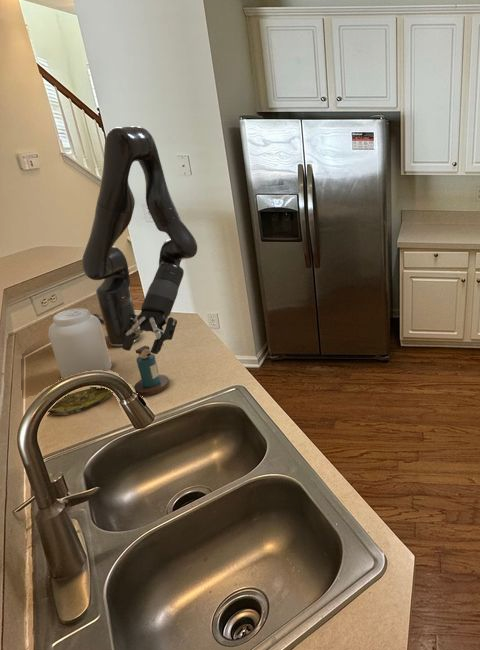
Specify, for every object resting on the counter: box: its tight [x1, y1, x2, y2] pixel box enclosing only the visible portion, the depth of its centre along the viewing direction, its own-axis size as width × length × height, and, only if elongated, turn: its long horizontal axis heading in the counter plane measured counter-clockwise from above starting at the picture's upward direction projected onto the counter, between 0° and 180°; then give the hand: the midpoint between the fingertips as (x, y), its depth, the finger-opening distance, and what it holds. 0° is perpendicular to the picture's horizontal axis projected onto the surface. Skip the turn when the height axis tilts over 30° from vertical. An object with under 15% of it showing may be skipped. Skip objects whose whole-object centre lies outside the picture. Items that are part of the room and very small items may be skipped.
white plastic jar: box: [47, 307, 112, 379], centre depth 127 cm, size 12×12×20 cm
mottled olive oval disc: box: [47, 386, 114, 416], centre depth 117 cm, size 9×5×15 cm
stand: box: [133, 374, 170, 397], centre depth 124 cm, size 9×9×2 cm
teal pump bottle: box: [135, 345, 160, 387], centre depth 122 cm, size 4×4×11 cm
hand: (140, 351), depth 119 cm, fingers open, 8 cm apart
